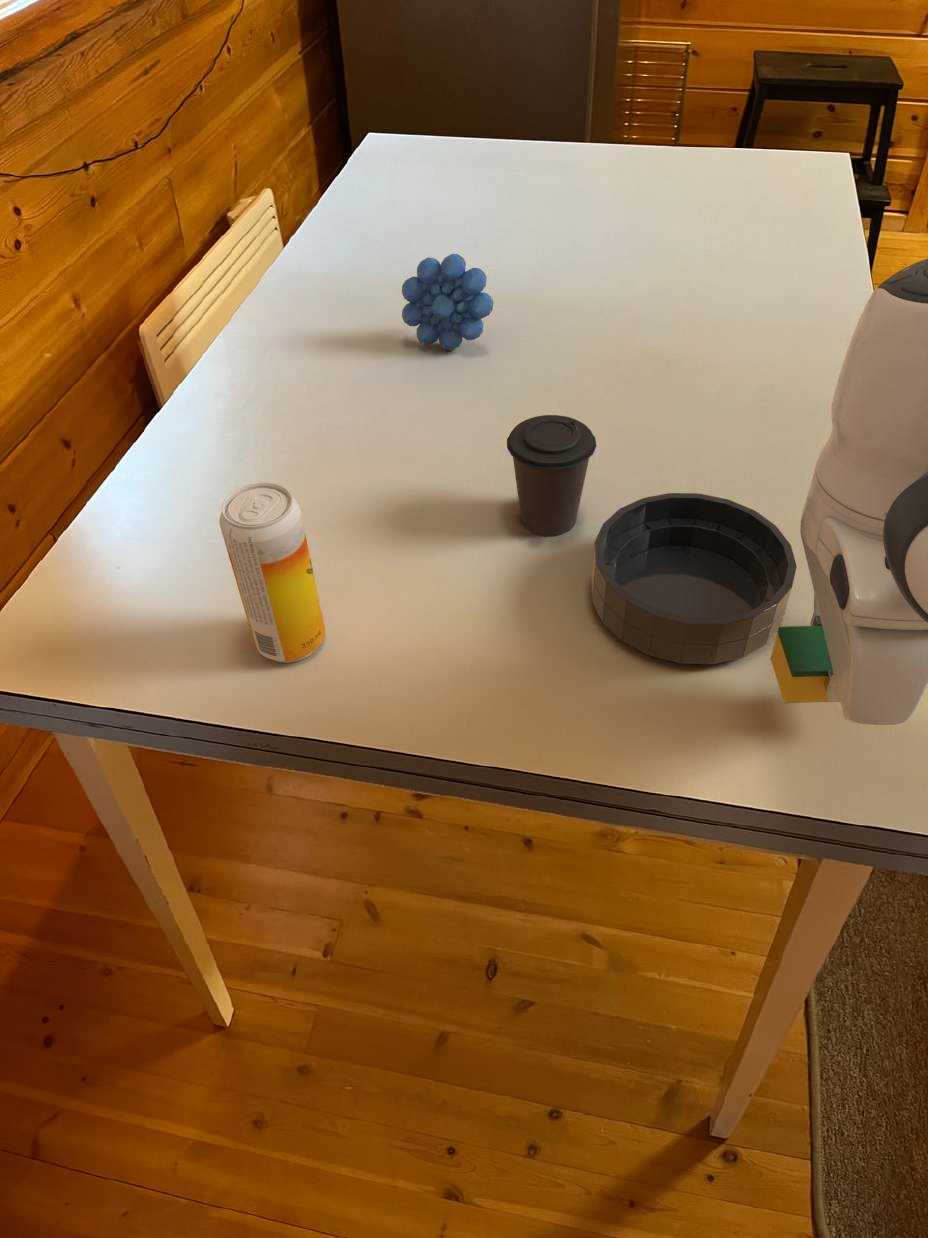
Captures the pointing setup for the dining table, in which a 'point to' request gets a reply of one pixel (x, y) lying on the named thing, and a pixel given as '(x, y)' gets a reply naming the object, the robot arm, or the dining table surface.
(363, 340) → the dining table surface
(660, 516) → the bowl
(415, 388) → the dining table surface
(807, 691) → the sponge
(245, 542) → the beer can
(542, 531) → the coffee cup
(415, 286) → the blue knobbed flower
